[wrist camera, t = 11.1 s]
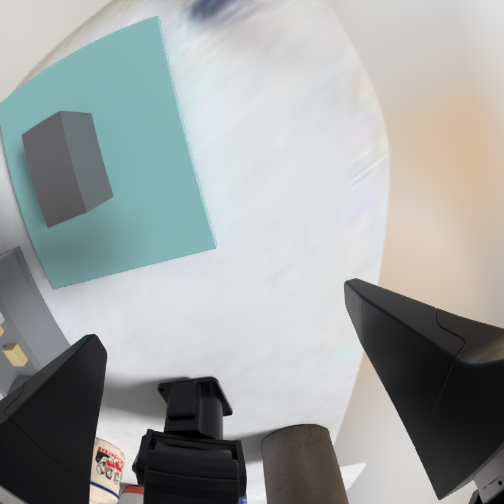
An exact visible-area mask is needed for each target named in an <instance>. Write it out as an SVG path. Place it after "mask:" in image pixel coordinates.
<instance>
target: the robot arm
mask: <svg viewBox="0 0 504 504" xmlns="http://www.w3.org/2000/svg"><path fill="white" fill-rule="evenodd" d="M344 293H345V305H346V308H347V311H348V313H349V316H350V318H351V320H352V323H353V325H354V328H355V330H356V333H357V335H358V338H359V340H360V342H361V345H362V346H363V348H364V350H365V352H366V354H367V355H368V357H369V359H370V361H371V363H372V365H373V367H374V368H375V370H376V372H377V374H378V376H379V378H380V380H381V381H382V383H383V385H384V387H385V389H386V391H387V393H388V395H389V397H390V399H391V400H392V402H393V404H394V406H395V408H396V410H397V412H398V414H399V416H400V418H401V420H402V422H403V424H404V426H405V428H406V430H407V432H408V434H409V436H410V438H411V440H412V443H413V445H414V446H415V449H416V451H417V453H418V455H419V458H420V460H421V462H422V464H423V466H424V468H425V470H426V473H427V475H428V477H429V480H430V482H431V484H432V486H433V489H434V491H435V493H436V496H437V498H438V500H441V499H443V498H445V497H447V496H448V495H449V494H452V493H453V492H455V491H457V490H458V489H460V488H461V487H463V486H465V485H466V484H468V483H469V482H471V481H472V480H474V482H475V484H476V486H477V488H478V489H477V490H476V491H474V492H473V494H472V497H471V499H470V502H469V504H504V329H503V328H499V327H496V326H492V325H489V324H485V323H482V322H478V321H474V320H471V319H467V318H464V317H461V316H458V315H455V314H452V313H449V312H446V311H444V310H441V309H438V308H437V309H436V308H435V307H433V306H430V305H427V304H425V303H422V302H419V301H417V300H414V299H411V298H409V297H406V296H403V295H400V294H398V293H395V292H392V291H390V290H387V289H384V288H382V287H379V286H376V285H373V284H371V283H368V282H365V281H362V280H360V279H357V278H354V279H351V280H347V281H345V283H344ZM106 363H107V351H106V349H105V348H104V346H103V344H102V343H101V341H100V339H99V338H98V336H97V335H95V334H89V335H85V336H84V337H83V338H81V339H80V340H79V341H77V342H76V343H75V344H73V345H72V346H71V347H69V348H68V349H67V350H65V351H64V352H63V353H61V354H60V355H59V356H58V357H56V358H55V359H54V360H52V361H51V362H50V363H48V364H47V365H46V366H45V367H43V368H42V369H41V370H39V371H38V372H37V373H36V374H34V375H33V376H32V377H30V378H29V379H28V380H27V381H26V382H24V383H23V384H22V385H20V386H19V387H18V388H16V389H15V390H14V391H13V392H11V393H10V394H9V395H7V396H6V397H5V398H3V399H2V400H0V504H89V500H90V481H91V470H92V460H93V451H94V443H95V436H96V429H97V423H98V417H99V411H100V405H101V400H102V395H103V389H104V380H105V371H106ZM158 391H159V393H160V394H161V395H162V397H163V398H164V400H165V401H166V403H167V410H166V419H165V426H164V432H158V431H154V430H152V429H147V433H146V435H144V436H142V440H141V445H140V449H139V452H138V454H137V456H136V458H135V461H134V463H133V465H132V470H133V472H134V473H135V474H136V477H137V482H138V486H139V487H141V488H144V495H143V504H239V499H243V498H244V496H245V493H246V485H247V475H246V467H245V462H244V456H243V451H242V445H241V440H234V441H233V440H223V416H230V415H232V414H233V411H232V408H231V406H230V404H229V402H228V400H227V398H226V396H225V394H224V392H223V390H222V388H221V386H220V384H219V382H218V380H217V379H216V378H206V379H199V380H192V381H184V382H176V383H167V384H159V385H158Z"/></svg>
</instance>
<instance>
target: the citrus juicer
mask: <svg viewBox="0 0 504 504" xmlns="http://www.w3.org/2000/svg"><path fill="white" fill-rule="evenodd" d="M143 495H144V488H141V487H136V486H129V487H126V488H125V489H124V491H123V492H122V493H121V496H120V498H119V500H118V501H117V504H143Z"/></svg>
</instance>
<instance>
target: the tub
mask: <svg viewBox="0 0 504 504" xmlns="http://www.w3.org/2000/svg"><path fill="white" fill-rule="evenodd" d="M69 347H71V346H70V344H69V343H68V341H67V340H66V338H65V337H64V335H63V333H62V332H61V330H60V328H59V327H58V325H57V323H56V321H55V320H54V318H53V316H52V314H51V313H50V311H49V309H48V307H47V305H46V303H45V302H44V300H43V298H42V296H41V294H40V292H39V290H38V288H37V286H36V284H35V282H34V280H33V277H32V275H31V273H30V271H29V269H28V266H27V264H26V262H25V260H24V257H23V255H22V252H21V250H20V247H16V248H14V249H12V250H10V251H8V252H5V253H3V254H1V255H0V393H1V394H2V395H3V397H4V398H5V397H6V396H7V395H9V394H10V393H11V392H13V391H14V390H15V389H16V388H18V387H19V386H20V385H22V384H23V383H24V382H26V381H27V380H28V379H29V378H30V377H32V376H33V375H34V374H36V373H37V372H38V371H39V370H41V369H42V368H43V367H45V366H46V365H47V364H48V363H50V362H51V361H52V360H54V359H55V358H56V357H58V356H59V355H60V354H61V353H63V352H64V351H65V350H67V349H68V348H69Z"/></svg>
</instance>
